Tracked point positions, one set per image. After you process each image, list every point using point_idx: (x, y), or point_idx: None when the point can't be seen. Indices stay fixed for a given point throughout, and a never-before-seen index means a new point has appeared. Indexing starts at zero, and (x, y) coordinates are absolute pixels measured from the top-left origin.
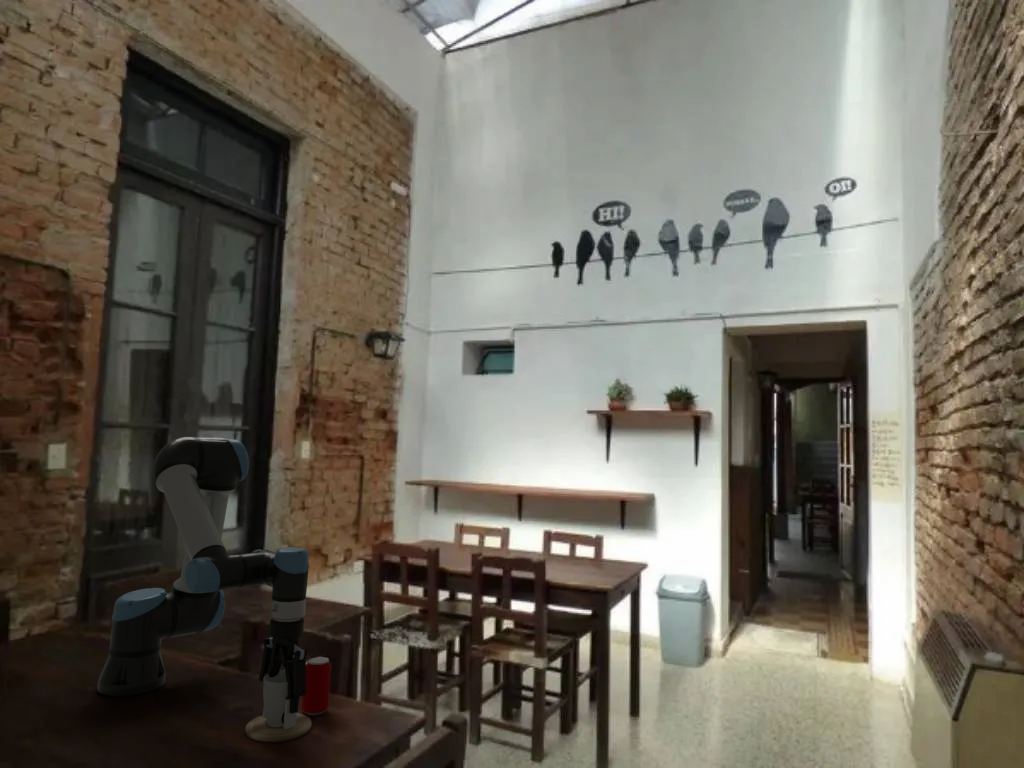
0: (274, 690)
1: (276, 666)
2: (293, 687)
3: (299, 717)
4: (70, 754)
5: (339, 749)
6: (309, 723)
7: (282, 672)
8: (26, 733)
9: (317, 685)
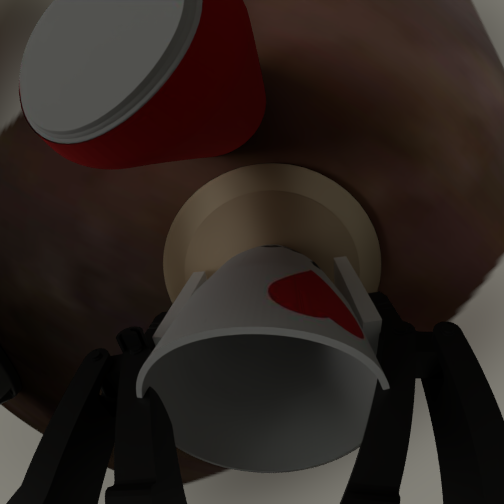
0: (323, 431)
1: (166, 461)
2: (428, 405)
3: (261, 195)
4: (181, 477)
5: (495, 206)
6: (334, 189)
7: (147, 376)
8: (109, 464)
9: (250, 105)
